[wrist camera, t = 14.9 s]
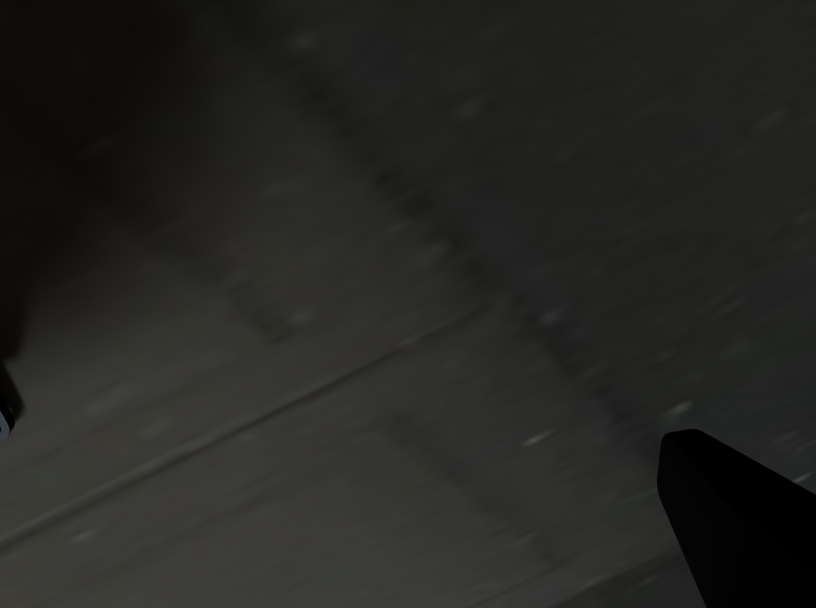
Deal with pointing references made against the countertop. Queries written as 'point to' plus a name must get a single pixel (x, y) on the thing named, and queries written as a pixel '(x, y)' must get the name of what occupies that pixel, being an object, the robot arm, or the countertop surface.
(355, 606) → the countertop surface
